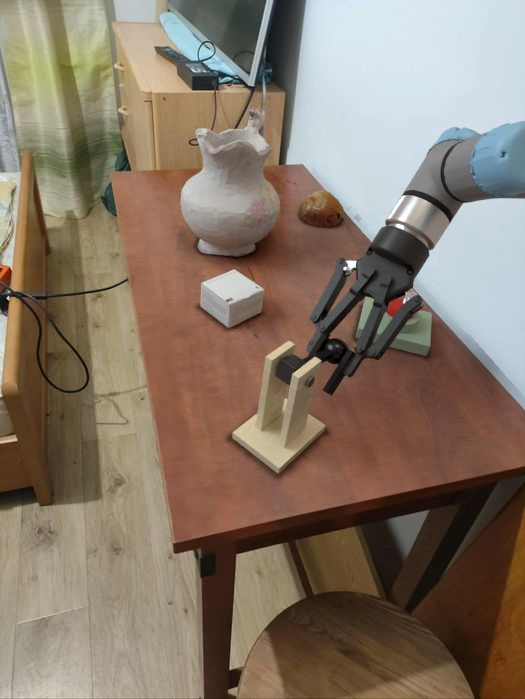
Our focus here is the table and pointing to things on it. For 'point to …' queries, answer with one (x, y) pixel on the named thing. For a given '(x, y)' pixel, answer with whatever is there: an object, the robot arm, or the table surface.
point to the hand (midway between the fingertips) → (314, 384)
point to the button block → (403, 330)
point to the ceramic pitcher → (231, 190)
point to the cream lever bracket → (282, 413)
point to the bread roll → (321, 209)
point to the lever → (330, 353)
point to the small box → (231, 298)
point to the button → (394, 307)
